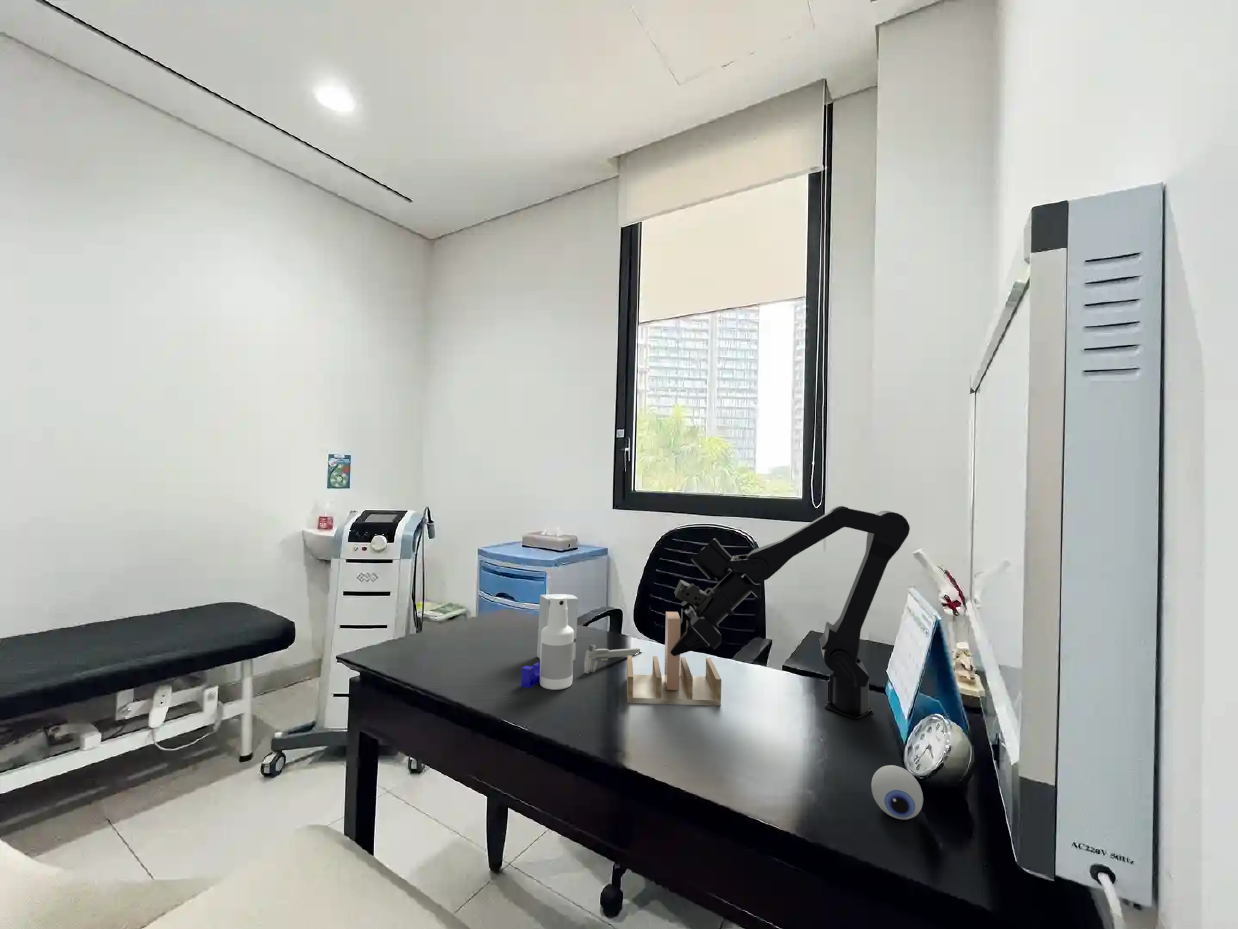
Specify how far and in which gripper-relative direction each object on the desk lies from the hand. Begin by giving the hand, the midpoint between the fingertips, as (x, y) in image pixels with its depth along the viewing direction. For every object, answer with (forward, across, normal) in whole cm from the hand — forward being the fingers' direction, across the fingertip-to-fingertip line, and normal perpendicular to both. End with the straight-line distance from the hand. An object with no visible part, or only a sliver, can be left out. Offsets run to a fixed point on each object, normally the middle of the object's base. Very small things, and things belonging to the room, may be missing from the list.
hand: (670, 649), depth 106 cm
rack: (+6, 0, +6) cm, 8 cm away
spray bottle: (+23, -2, -11) cm, 25 cm away
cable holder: (+26, -4, -14) cm, 30 cm away
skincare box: (+24, -17, -12) cm, 32 cm away
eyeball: (-12, +37, +25) cm, 47 cm away
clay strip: (+5, 0, +5) cm, 7 cm away
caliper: (+14, -16, -2) cm, 21 cm away
